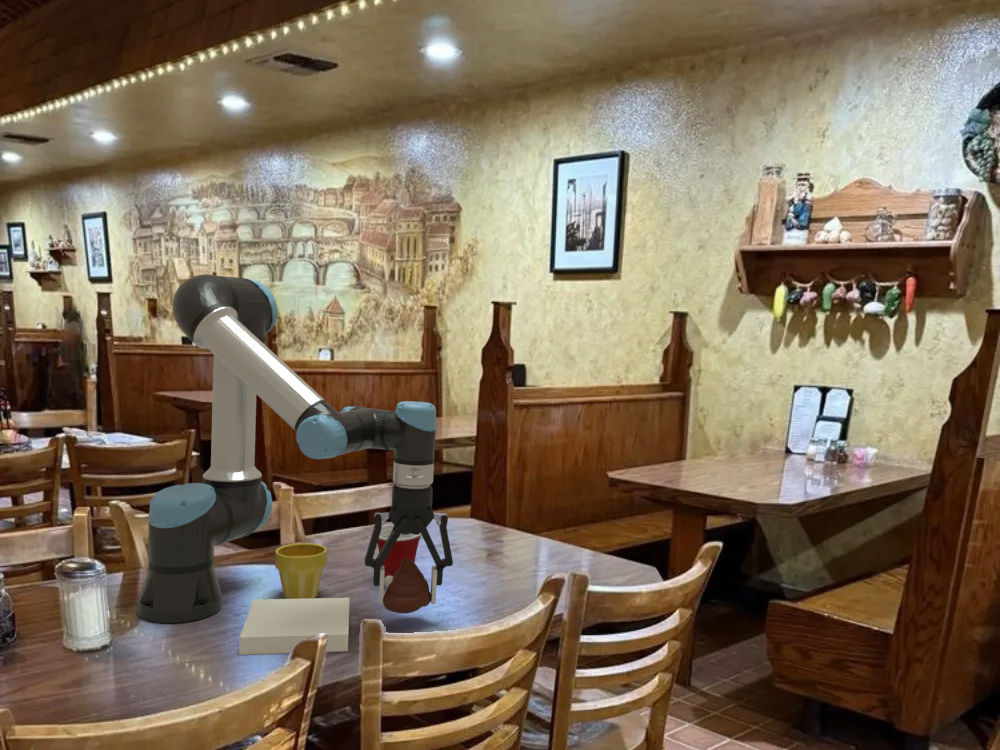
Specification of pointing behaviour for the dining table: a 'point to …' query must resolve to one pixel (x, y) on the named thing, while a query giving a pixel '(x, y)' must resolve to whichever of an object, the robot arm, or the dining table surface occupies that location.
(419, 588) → the poop emoji
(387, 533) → the plastic cup
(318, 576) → the plant pot
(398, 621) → the dining table surface
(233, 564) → the dining table surface
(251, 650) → the base board
